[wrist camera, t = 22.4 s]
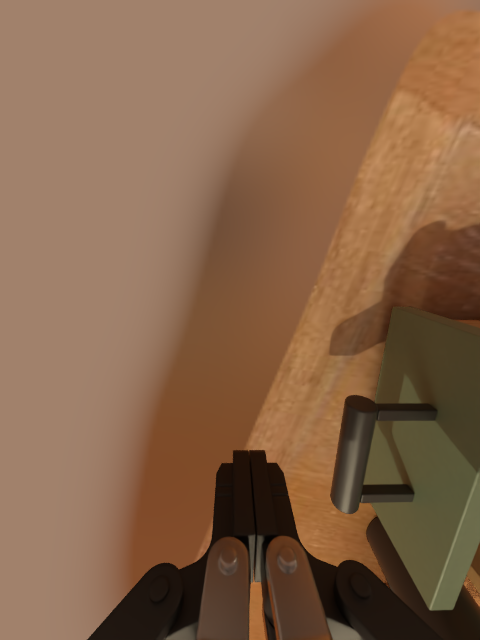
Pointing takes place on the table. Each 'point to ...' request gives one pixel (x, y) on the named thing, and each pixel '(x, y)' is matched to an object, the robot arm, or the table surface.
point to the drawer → (420, 451)
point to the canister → (452, 625)
